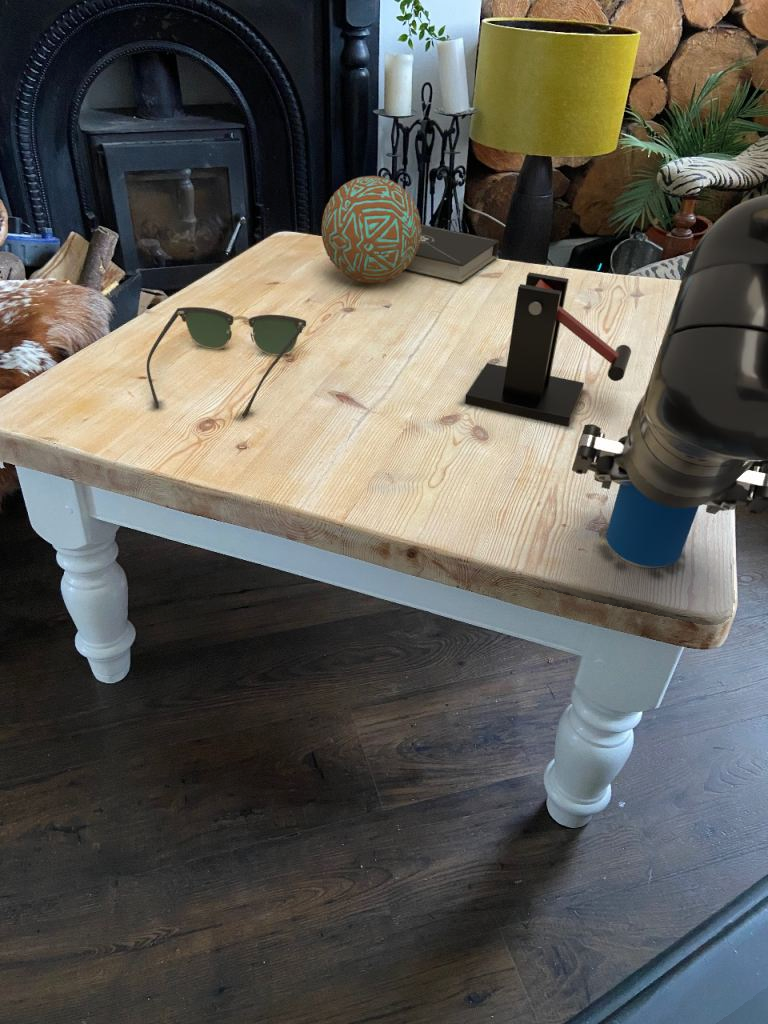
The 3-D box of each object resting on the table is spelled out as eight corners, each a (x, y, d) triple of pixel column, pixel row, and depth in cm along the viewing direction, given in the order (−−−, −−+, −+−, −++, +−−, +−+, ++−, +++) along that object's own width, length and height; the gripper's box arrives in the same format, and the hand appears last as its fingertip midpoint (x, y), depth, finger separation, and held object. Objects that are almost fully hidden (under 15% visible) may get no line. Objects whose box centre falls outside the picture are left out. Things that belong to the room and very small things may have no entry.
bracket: (582, 391, 89) (607, 278, 81) (568, 426, 82) (593, 307, 74) (485, 371, 92) (500, 260, 84) (464, 403, 86) (478, 287, 77)
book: (497, 257, 126) (500, 239, 125) (461, 284, 116) (463, 264, 114) (387, 233, 134) (387, 216, 133) (343, 256, 124) (343, 238, 122)
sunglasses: (128, 405, 83) (120, 364, 80) (183, 341, 96) (178, 304, 93) (272, 421, 81) (269, 380, 78) (308, 354, 94) (307, 317, 91)
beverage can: (687, 543, 67) (730, 428, 59) (667, 584, 62) (711, 465, 55) (617, 518, 69) (650, 405, 62) (593, 555, 65) (625, 438, 58)
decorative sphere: (377, 306, 108) (380, 197, 99) (302, 280, 115) (298, 176, 106) (437, 279, 117) (445, 178, 108) (364, 256, 124) (366, 160, 115)
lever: (621, 363, 84) (636, 348, 82) (614, 386, 79) (629, 371, 78) (530, 290, 83) (544, 273, 81) (517, 308, 79) (531, 291, 77)
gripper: (826, 406, 45) (759, 466, 61) (592, 361, 49) (585, 428, 65) (798, 523, 45) (738, 554, 60) (563, 468, 49) (563, 510, 64)
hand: (659, 489), depth 62 cm, fingers open, 8 cm apart
